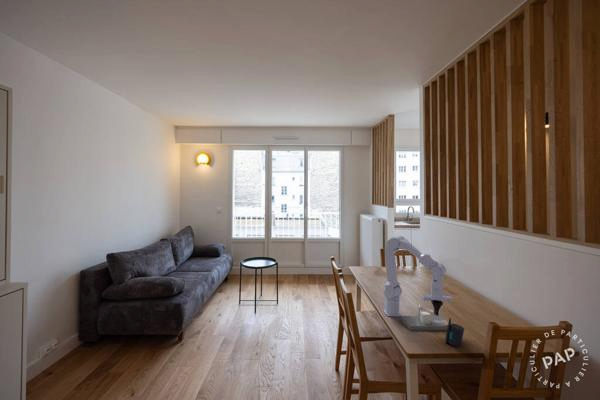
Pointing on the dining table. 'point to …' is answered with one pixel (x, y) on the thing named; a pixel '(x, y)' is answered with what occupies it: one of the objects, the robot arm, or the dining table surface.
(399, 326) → the dining table surface
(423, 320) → the plug
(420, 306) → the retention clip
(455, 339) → the speaker
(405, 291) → the dining table surface
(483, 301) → the dining table surface
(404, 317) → the power strip
